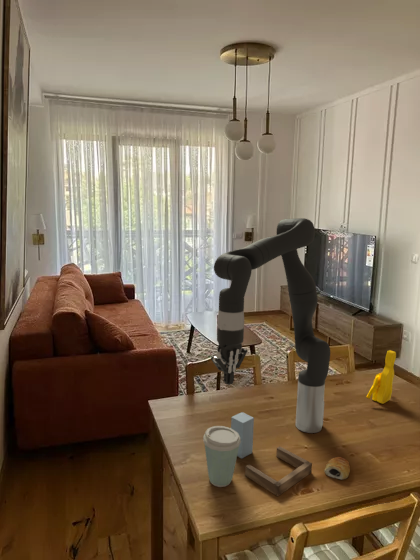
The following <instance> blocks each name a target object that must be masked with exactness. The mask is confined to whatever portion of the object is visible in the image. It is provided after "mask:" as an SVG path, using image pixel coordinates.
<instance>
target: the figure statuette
mask: <svg viewBox="0 0 420 560" xmlns="http://www.w3.org/2000/svg"><path fill="white" fill-rule="evenodd" d="M396 357H397V352H396V351H393V350H391V349H389V350H387V352H386V355H385V358H384V359H385V361H384V362H385V365H384V367H383V369H382V371H381V372H379V373H377V374H375V378H374V379H373V380H372V381H373V383H372V385H371V387H370V389H369V391H368V392H367V395H366V396H365V397H366V398H367V399H368V400H370V399H372V401H374V402H377V403H379V404H381V405H383V404H385V403H387V402H388V401H390V400H391V397H392V393H393V382H394V377H395V370H394V365H395V362H396V359H397V358H396ZM371 397H372V398H371Z"/></svg>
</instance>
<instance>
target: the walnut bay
mask: <svg viewBox="0 0 420 560" xmlns="http://www.w3.org/2000/svg"><path fill="white" fill-rule="evenodd" d="M275 457H276V458H278V459H280V460H282V461H284V462H285V463H287V464H289V465H291V466H293V467H295V469H294V470H292V471H290V472H289V473H288V474H286V475H285V476H283V477H282V478H280V479H278V480H276V479H274V478H272V477H271V476H269V475H267V474H266V473H265V472H262V471H261V470H259V469H258V468H256V467H254V466H252V465H251V464H247V465H246V466H245V471H244V472H245V474H244V476H245V477H247V478H249V479H250V480H251V481H253V482H254V483H255V484H257V485H259V486H261V487H262V488H264V489H265V490H266V491H268V492H270V493H272V494H273V495H275V496H276V497H279V496H281V495H282V494H284V493H285V492H286V491H287V490H289V489H290V488H292V487H293V486H294V485H296V484H297V483H299V482H300V481H302V480H303V479H304V478H306V477H308V475H310V474H311V473H312V471H313V469H312V468H313V463H312V462H311V461H308V460H306V459H305V458H304V457H301V456H299V455H297V454H296V453H293V452H292V451H289V450H288V449H286V448H284V447H282V446H280V445H279V446H278V447H276V456H275Z"/></svg>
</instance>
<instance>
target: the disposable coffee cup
mask: <svg viewBox="0 0 420 560" xmlns="http://www.w3.org/2000/svg"><path fill="white" fill-rule="evenodd" d="M202 436H203V437H202V440H203V444H204V451H205V458H206V466H207V467H206V468H207V474H208V479H209V483H210V484H212V485H213V486H215V487H218V488H222V487H224V488H225V487H227V486H229V485H230V484H231V482H232V480H233V477H234V473H235V466H236V462H237V457H238V456H237V454H238V449H239V445H240V443H241V438H240V436H239V434H238V433H237V432H236V431H235V430H233V429H231V427H228V426H224V425H213V426H211V427H208V428H207V429H206V430H205V431H204V434H203V435H202Z"/></svg>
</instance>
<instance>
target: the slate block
mask: <svg viewBox="0 0 420 560" xmlns="http://www.w3.org/2000/svg"><path fill="white" fill-rule="evenodd" d="M230 419H231V421H230V428H231V429H233V430H235V431H236V432H237V433H238V434H239V436H240V438H241V443H240V445H239V449H238V454H237V457H238V458H240V459H244V458H245V457H247V456H249V455H251V454H253V449H254V447H253V445H254V443H253V442H254V427H255V426H254V423H255V418H254V417H253V416H251V415H249V414H247V413H245V412H244V411H242V412H240V413H239V412H238V413H236V414H235V415H233V416H231V418H230Z"/></svg>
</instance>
